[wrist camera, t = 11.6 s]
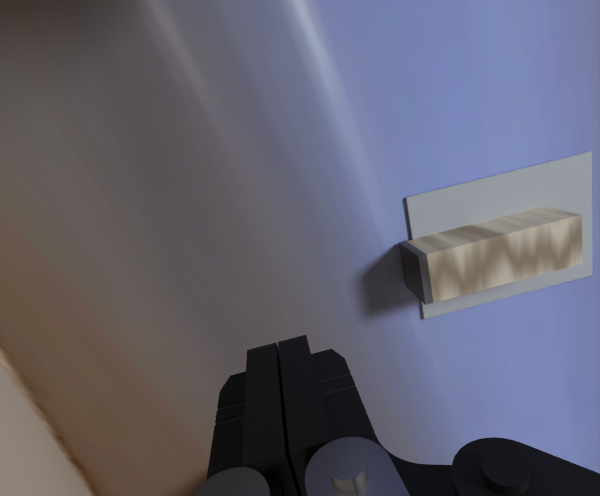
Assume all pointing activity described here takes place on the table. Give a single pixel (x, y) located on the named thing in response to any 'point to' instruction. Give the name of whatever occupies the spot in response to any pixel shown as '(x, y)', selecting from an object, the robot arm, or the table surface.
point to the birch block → (491, 253)
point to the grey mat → (504, 201)
